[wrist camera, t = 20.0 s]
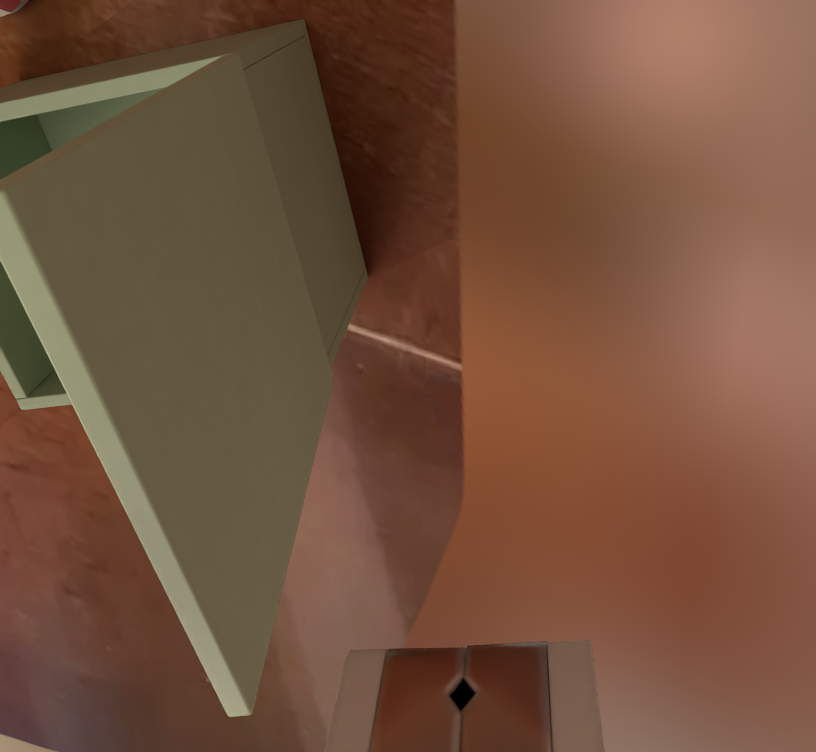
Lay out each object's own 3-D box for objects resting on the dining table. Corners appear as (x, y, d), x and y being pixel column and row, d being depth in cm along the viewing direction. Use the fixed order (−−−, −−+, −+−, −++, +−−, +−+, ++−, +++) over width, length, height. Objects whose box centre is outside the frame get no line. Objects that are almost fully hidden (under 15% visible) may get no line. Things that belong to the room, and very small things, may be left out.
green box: (118, 313, 41) (21, 410, 33) (18, 81, 35) (-131, 130, 27) (368, 278, 38) (328, 375, 30) (304, 18, 33) (233, 52, 24)
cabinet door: (227, 718, 17) (253, 716, 17) (-35, 197, 11) (3, 189, 11) (319, 380, 30) (334, 378, 30) (221, 56, 24) (239, 52, 24)
